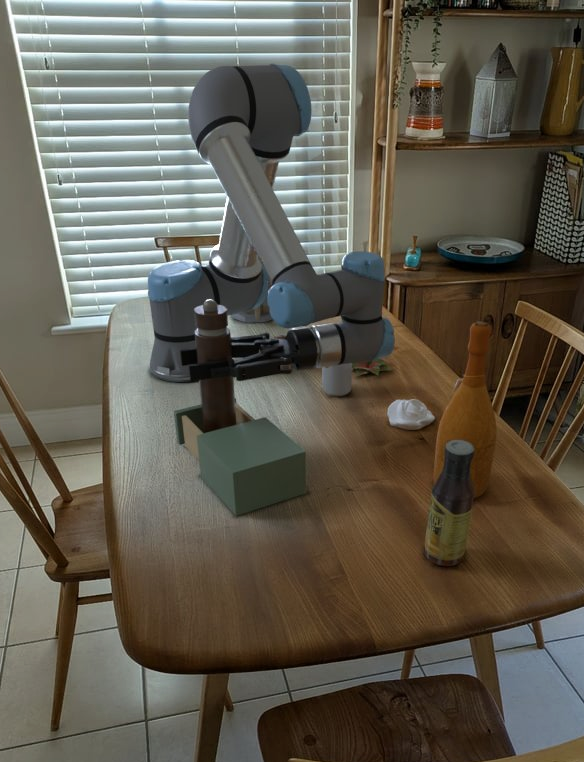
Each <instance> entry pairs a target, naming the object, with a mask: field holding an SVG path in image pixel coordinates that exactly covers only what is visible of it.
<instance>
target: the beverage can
mask: <svg viewBox="0 0 584 762" xmlns="http://www.w3.org/2000/svg"><path fill="white" fill-rule="evenodd" d="M321 374H322V375H321V381H322V382H321V388H322V391H323V392H324V393H325V394H326V395H328V396H330V397H343V396H347V395H348V393H350V392H351V391H352V382H353V381H352V379H353V377H352V376H353V368H352V363H348V364H341V365H334V366H329V367H328V368H324V367H321Z"/></svg>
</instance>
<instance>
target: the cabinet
mask: <svg viewBox="0 0 584 762" xmlns="http://www.w3.org/2000/svg"><path fill="white" fill-rule="evenodd" d="M197 444H198V454H199V461H198V462H199V473H200V477H201V478H202V480H203V481H204V482H205V483H206V484H207V485H208V486H209V487H210V488H211V490H212V491H213V492H214V493H215V494H216V495H217V497H218V498H219V499H220V501H222V502H223V503H224V504H225V506H226V507H227V508H228V509H229V510H230V511H231V512H232V514H234V516H236V517H238V516H241V515H244V514H246V513H250V512H253V511H257V510H260V509H261V508H262V509H263V508H265V507H268V506H271V505H274V504H277V503H280V502H283V501H286V500H290V499H293V498H296V497H299V496H302V495H305V494H306V493H307V477H306V476H307V473H306V472H307V469H306V468H307V465H306V461H307V459H306V450H304V449H303V448H302V447H301V446H300V445H298V444H297V443H296V442H295V441H294V440H292V439H291V437H289V436H288V435H287V434H286V433H285V432H284V431H282V430H281V429H280V428H279V427H278V426H276V425H275V424H274V423H273V422H272V421H270V420H269V418H267V416H263V417H261V418H260V417H259V418H257V419H255V420H253V421H249V422H245V423H241V424H238V425H234V426H230V427H226V428H222V429H219V430H215V431H211V432H207V433H204V434H200V435H197Z"/></svg>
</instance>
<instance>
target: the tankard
mask: <svg viewBox="0 0 584 762" xmlns="http://www.w3.org/2000/svg"><path fill="white" fill-rule="evenodd" d="M266 280H267V281H268V292H269V290H270V289H271V287H272V286H273V285H272V283H271V281H270V279H269V277H267V279H266ZM268 292H267V295H266V298H265V300H264V301H263V303H262V304H261V305H260V306H259V307H257V308H255V309H251V310H249V311H247V312H244V313H237V314H233V315H230V316H231V318H232V319H234V320H237V321H239V322H243V323H245V324H246V323H250V324H251V323H267V322H269V321H272V320H273V319H272V317H271V315H270V307H269V306H268V302H267V299H268Z"/></svg>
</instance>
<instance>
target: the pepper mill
mask: <svg viewBox="0 0 584 762" xmlns="http://www.w3.org/2000/svg"><path fill="white" fill-rule="evenodd" d="M194 312H195V323H196V327H197V328H198V329H196V330H195V343H196V353H197V363H205V362H212V361H219V360H227V361H228V365H229V358H232V348H231V338H232V334H231V329H230V328H229V327H228V326H229V317H228V316H229V315H227V308H226V307H225V306H222V305H217V303H216V302H215V301H214V300H207V301H205V303H204V305H201V306H198V307H196V308H195V310H194ZM232 359H233V358H232ZM198 383H199V393H200V404H201V406H202V417H203V427H204V433H207V432H211V431H215V430H219V429H222V428H226V427H230V426H234V425H236V410H235V398H236V396H235V380H234V377H230V375H229V376H225V377H218V378H211V379H204V380H198Z"/></svg>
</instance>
